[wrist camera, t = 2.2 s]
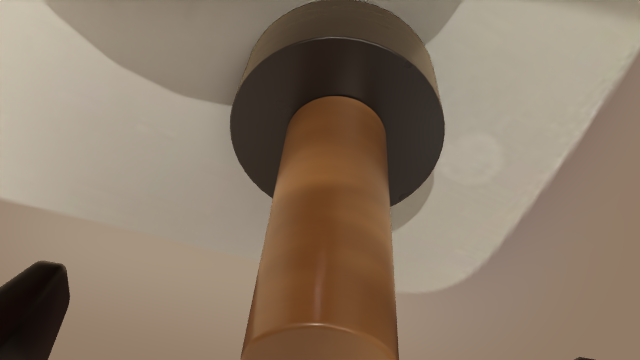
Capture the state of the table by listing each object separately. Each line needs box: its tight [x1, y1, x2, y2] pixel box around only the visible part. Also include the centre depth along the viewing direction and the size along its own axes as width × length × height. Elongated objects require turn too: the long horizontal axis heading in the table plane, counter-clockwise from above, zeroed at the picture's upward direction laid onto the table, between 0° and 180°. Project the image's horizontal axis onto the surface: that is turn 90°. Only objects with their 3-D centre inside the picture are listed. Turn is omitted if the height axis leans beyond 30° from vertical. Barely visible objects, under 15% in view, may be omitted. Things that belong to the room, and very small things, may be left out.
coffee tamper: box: [230, 0, 445, 360], centre depth 13 cm, size 6×6×10 cm
